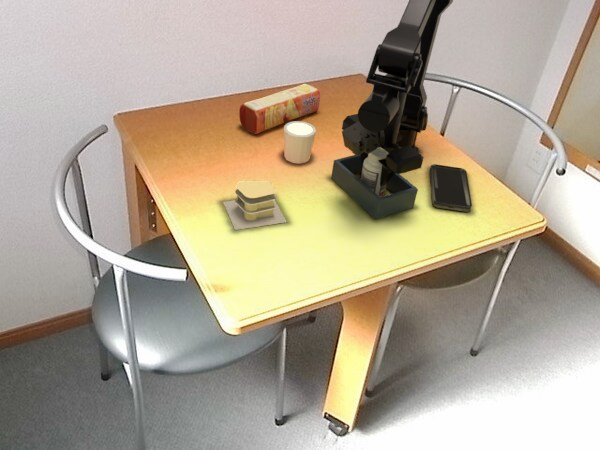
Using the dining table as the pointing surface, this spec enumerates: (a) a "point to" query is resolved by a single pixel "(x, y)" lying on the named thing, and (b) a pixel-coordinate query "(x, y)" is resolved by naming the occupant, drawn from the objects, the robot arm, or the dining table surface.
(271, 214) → the stacked layers on plate
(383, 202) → the bin
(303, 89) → the snack package
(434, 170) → the phone
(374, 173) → the pill bottle
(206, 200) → the dining table surface
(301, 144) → the white cup
